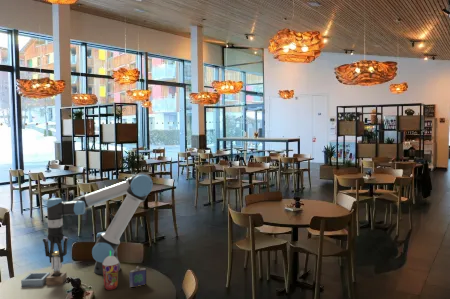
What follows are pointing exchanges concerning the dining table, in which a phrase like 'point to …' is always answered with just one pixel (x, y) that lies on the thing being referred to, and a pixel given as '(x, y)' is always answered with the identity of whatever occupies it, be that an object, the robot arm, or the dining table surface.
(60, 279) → the block
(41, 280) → the tray
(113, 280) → the smoothie
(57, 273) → the pin
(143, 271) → the flask
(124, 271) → the dining table surface
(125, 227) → the robot arm
